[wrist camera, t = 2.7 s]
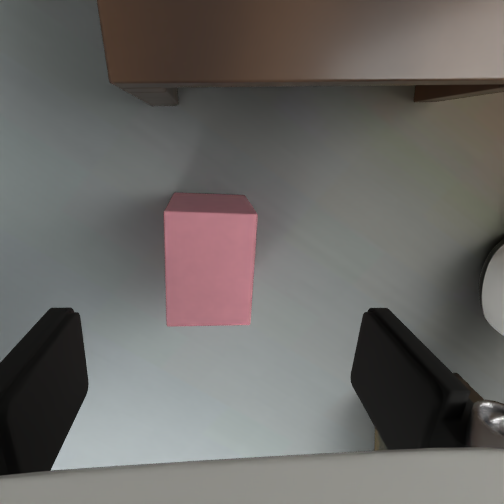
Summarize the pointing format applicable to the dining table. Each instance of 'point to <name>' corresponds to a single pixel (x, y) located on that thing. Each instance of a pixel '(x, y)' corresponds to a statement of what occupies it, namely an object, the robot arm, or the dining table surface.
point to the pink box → (209, 259)
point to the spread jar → (493, 288)
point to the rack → (304, 45)
